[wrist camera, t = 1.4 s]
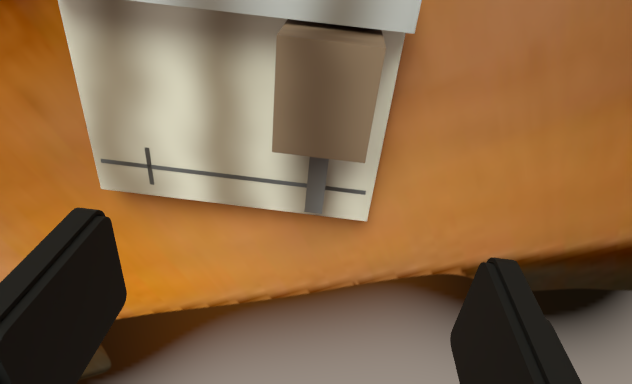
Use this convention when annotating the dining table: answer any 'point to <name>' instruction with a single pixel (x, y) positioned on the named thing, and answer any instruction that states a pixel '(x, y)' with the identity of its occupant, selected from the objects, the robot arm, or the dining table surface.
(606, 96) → the dining table surface
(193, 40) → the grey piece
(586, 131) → the dining table surface
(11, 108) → the dining table surface
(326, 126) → the block
